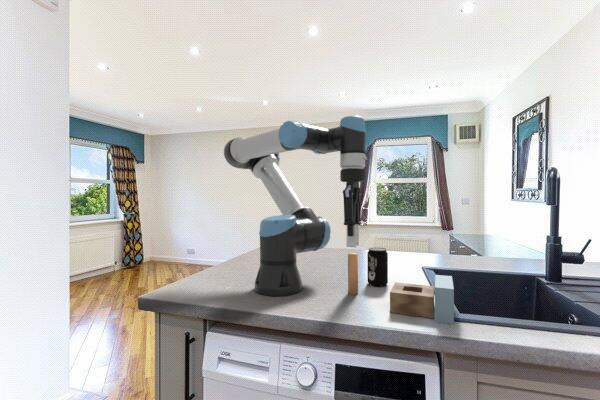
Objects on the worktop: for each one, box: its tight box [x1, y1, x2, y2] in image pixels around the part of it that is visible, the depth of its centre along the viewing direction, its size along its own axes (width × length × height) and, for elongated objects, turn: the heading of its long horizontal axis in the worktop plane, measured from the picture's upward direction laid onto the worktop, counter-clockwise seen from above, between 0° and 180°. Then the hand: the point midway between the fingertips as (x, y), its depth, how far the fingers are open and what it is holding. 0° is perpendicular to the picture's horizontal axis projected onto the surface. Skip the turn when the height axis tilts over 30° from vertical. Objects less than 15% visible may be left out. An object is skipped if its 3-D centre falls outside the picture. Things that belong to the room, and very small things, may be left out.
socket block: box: [389, 282, 435, 319], centre depth 81 cm, size 10×10×5 cm
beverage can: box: [367, 247, 389, 288], centre depth 104 cm, size 7×7×12 cm
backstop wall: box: [434, 274, 455, 325], centre depth 77 cm, size 4×13×8 cm, turn 156°
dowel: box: [347, 252, 359, 296], centre depth 94 cm, size 3×3×12 cm
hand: (352, 246), depth 94 cm, fingers open, 3 cm apart
